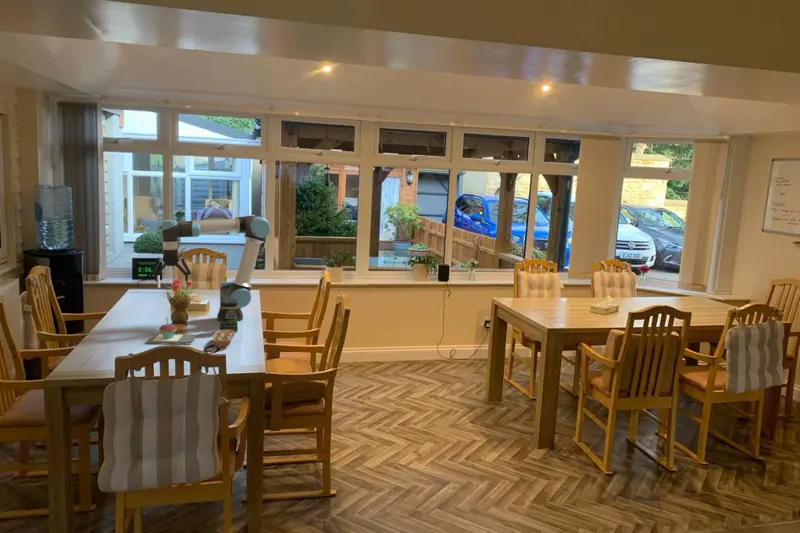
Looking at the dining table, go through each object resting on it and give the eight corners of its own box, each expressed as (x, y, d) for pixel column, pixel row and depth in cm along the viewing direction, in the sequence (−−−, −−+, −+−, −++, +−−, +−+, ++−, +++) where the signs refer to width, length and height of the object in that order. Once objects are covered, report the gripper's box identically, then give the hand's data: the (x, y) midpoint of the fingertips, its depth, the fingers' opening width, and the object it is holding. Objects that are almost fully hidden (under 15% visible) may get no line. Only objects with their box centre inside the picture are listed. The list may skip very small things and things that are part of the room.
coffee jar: (220, 334, 321) (220, 301, 319) (219, 330, 329) (219, 298, 326) (238, 333, 325) (238, 300, 322) (237, 329, 332) (237, 297, 330)
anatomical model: (229, 350, 293) (229, 341, 293) (209, 350, 292) (209, 341, 291) (235, 338, 316) (235, 329, 315) (216, 338, 314) (216, 329, 314)
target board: (196, 336, 314) (196, 334, 314) (190, 344, 300) (190, 341, 300) (154, 336, 311) (153, 333, 311) (146, 343, 298) (145, 341, 297)
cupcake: (174, 339, 302) (174, 317, 300) (157, 339, 301) (157, 317, 299) (178, 335, 310) (178, 313, 309) (161, 335, 309) (161, 313, 307)
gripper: (144, 249, 310) (146, 289, 314) (193, 249, 314) (194, 288, 318) (147, 247, 317) (149, 286, 321) (195, 247, 322) (197, 285, 325)
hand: (172, 287), depth 319 cm, fingers open, 13 cm apart
